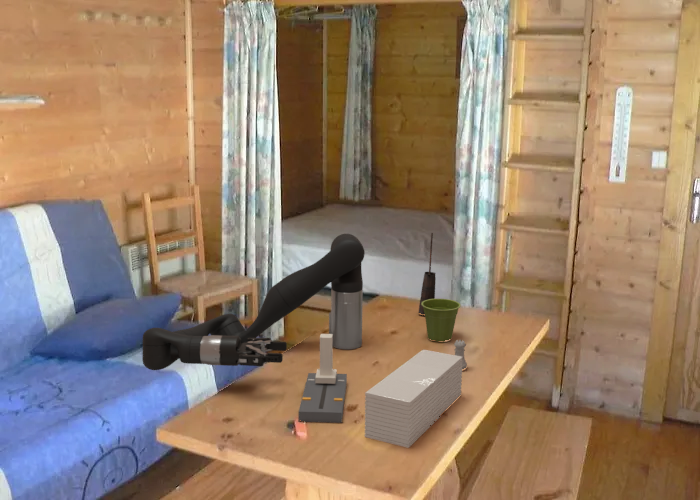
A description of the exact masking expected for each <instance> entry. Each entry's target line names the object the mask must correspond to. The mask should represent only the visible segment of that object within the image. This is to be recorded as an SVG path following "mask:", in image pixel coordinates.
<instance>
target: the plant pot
mask: <svg viewBox="0 0 700 500" xmlns="http://www.w3.org/2000/svg"><path fill="white" fill-rule="evenodd" d="M421 305H422V306H423V309H424V313H425V316H424V320H425V326H426V334H427V339H428V338H429V339H431V340H436V341H435V342H438V341H445V340H449V339H451V338H452V337H453V334H454V328H455V325H456V324H455V323H456V319H457V316H458V313H459V309H460V308H461V307H462V306H461V303H460V302H458V301H456V300H453V299H448V298H435V299H428V300H425V301H423V302H422V303H421ZM429 339H428V340H429ZM431 340H430V341H431ZM451 340H452V339H451Z"/></svg>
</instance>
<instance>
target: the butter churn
mask: <svg viewBox="0 0 700 500" xmlns="http://www.w3.org/2000/svg"><path fill="white" fill-rule="evenodd" d="M433 235H434V234H433V232H431V235H430V245H429V247H430V248H429V249H430V250H429V265H428V271H424V275H423V279H422V284H421V285H422V286H421V291H420V299H419V305H418V313H421V314H425V313H424V309H423V306H422V305H421V303H422V302H423V301H425V300H428V299H436V272H432V270H431V269H432V255H433V254H432V252H433V238H434V237H433Z"/></svg>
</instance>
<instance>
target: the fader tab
mask: <svg viewBox="0 0 700 500" xmlns="http://www.w3.org/2000/svg"><path fill="white" fill-rule="evenodd" d="M333 348H334V347H333V334H329V333H320V336H319V368H317V369H316V372H315V373H316V377H315V383H328V384H335V382H336V376H337V374H338V371H337V370H338V369H336V368H334V369H333V365H334V364H333V358H334V357H333V356H334V355H333Z"/></svg>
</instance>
